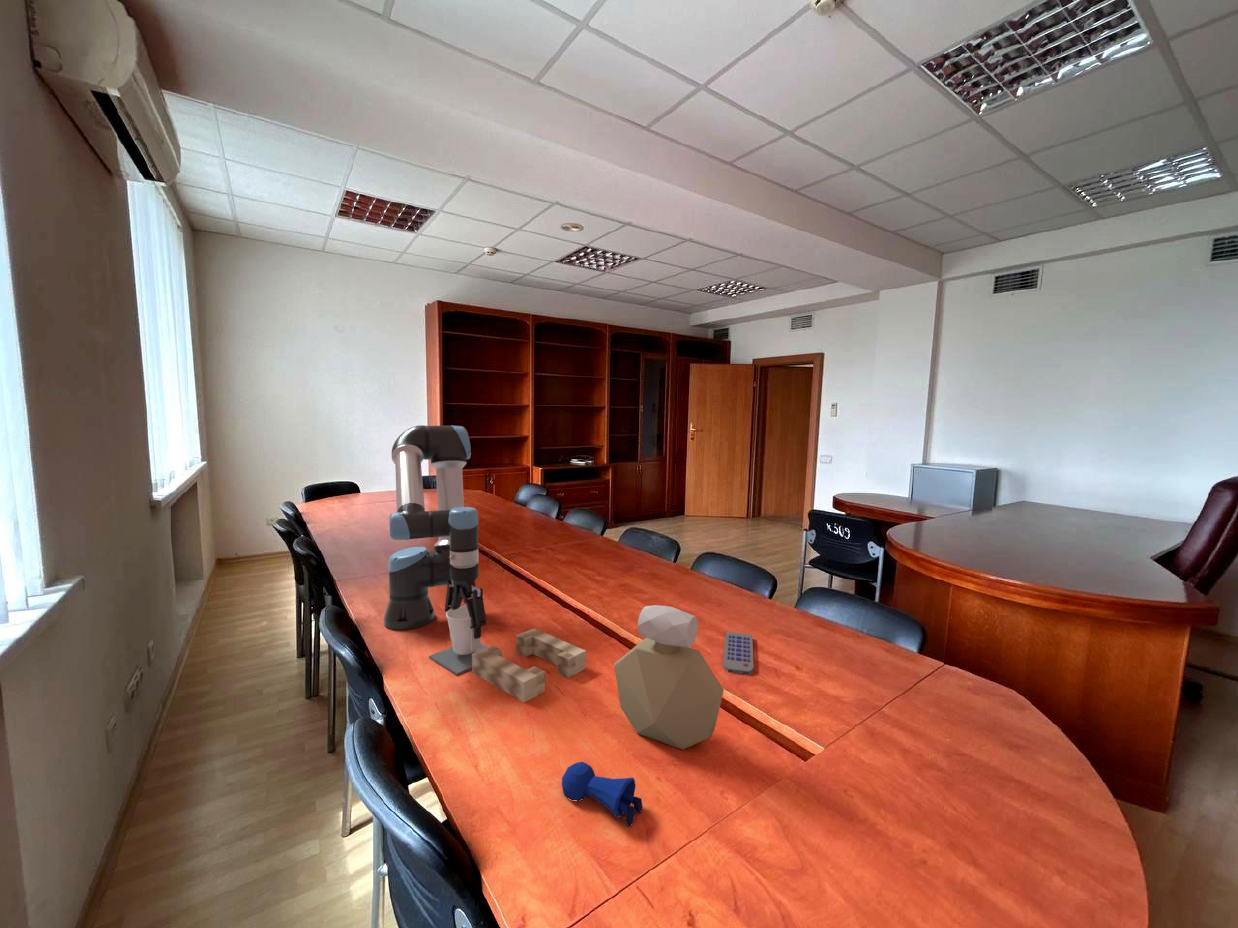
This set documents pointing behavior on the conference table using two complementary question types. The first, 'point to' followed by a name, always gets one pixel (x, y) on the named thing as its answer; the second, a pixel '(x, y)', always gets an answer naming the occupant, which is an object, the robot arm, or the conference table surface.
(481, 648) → the coaster
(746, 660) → the remote control
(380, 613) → the conference table surface
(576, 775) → the toy
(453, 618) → the cup
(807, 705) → the conference table surface
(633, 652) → the perfume bottle
